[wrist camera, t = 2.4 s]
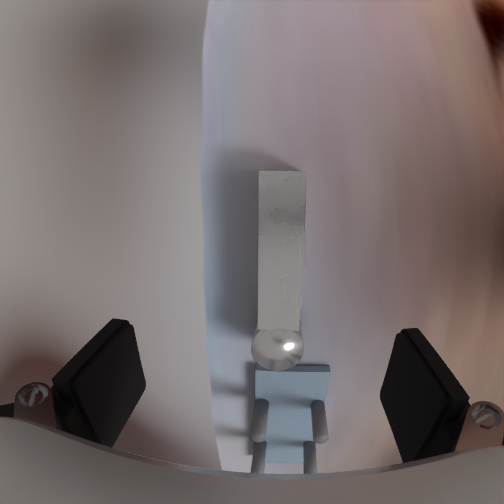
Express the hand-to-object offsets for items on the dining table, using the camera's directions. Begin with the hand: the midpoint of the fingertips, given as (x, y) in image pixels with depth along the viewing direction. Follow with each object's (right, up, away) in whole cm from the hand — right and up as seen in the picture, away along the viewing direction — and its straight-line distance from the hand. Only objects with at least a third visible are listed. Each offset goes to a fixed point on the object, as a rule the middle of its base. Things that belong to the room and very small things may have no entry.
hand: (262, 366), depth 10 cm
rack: (+4, -17, +23) cm, 29 cm away
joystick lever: (+2, +3, +18) cm, 19 cm away
